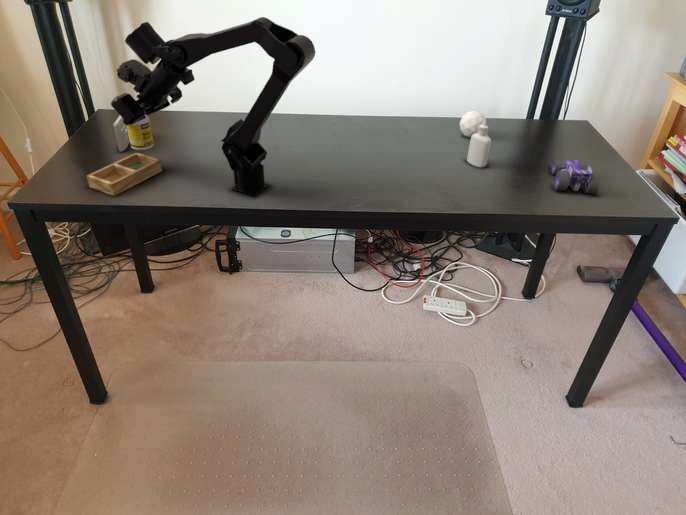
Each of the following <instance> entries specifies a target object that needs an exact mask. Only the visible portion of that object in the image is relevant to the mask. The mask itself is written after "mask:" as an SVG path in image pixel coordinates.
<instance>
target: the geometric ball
mask: <svg viewBox="0 0 686 515" xmlns="http://www.w3.org/2000/svg"><path fill="white" fill-rule="evenodd" d="M483 121H486V122H487V118H486V117H485V115H484V114H483V113H482V112H480V111H477V110H471V111H467V112H466V113H465V114H464V115H463V116H461V119H460V121H459V129H460V132H461V133H462V135H463V136H464V137H467V138H470V139H471V137H472V135H473V134H475V133H478V129H479V126H480V125H482V124H483Z"/></svg>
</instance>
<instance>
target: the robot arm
mask: <svg viewBox="0 0 686 515" xmlns="http://www.w3.org/2000/svg"><path fill="white" fill-rule="evenodd" d="M124 43H125V44H126V45H127V47H129V48H130V49H131V50H132V52H133V53H134V54H135V55H136V56H137V57H138V58H139V59H140V60H141V61H142V62H143V63H144V64H143V63H142V62H140V61H139V60H137V59H129V60H127V61H124V62H122V63H121V64H120V65H118V66H119V67H118V68H117V69H116V76H117V78H118V79H120V80H121V81H123V82H124V83H126V84H127V83H130V84H131V85H132V86H134V87H133V88H132V90H134V92H135V93H137V94H136V96H135V97H136V98H137V99H136V98H134V97H133V96H132V94H131V93H126V92H124V93H121V94H119V95H116V96H115V97H113V99H112V101H111V102H110V106H111V107H112V108H113V109H114V111H115V112H116V113H118V115H119V116H121V117H122V118H123V123H124V124H125V125H129V124H130V125H132V124H134V123H136V122H139V121H141V120H143V119H145V118H146V117H145V115H147V116H149V115H152V114H154V113H157V112H159V111H162V110H164V109H166V108H168V107H170V106H171V104H175V103H177V102H179V101H180V100H181V98H182V97H183V92H182V90H181V89H180V87H179V86H178V85H179V84H180V83H182V84H183V85H184V86H187V85H188V84H191V83H192V82H194V81H195V75H194V73H193V70H192V69H189V68H188V67H191V66H192V65H194V64H196V63H198V62H201V61H202V60H204V59H206V58H207V57H209V56H211V55H214V54H217V53H222V52H224V51H228V50H232V49H234V48H239V47H242V46H246V45H249V44H253V43H256V44H257V45H259V46H260V47H261V48H262V50H263V51H264V52H265V53H266V54H267V55H268V57H270V58H272V59H273V62H272V70H271V74H270V76H269V78H268V80H267V81H266V83H265V85H264V86H263V88H262V89H261V91H260V93H259V94H258V96H257V98H256V100H255V102H254V103H253V105H252V107H251V108H250V110H249V112H248V113H247V115H246V116H245V118H244V120H243V119H242V118H240V119H239V120H237V121H236V122H235V123H234V124H232V125H231V126H229V127H228V129H227V132H226V134H225V137H223V138H222V139H220V140H221V142H222V145H221V151H222V153H223V155H224V156H225V158H226V160H227V163H228V165H229V167H230V169H231V171H232V172H233V178H234V181H233V182H234V185H233V186H232V187H231V190H232V191H234V192H236V193H237V192H238V193H240V194H244V195H246V196H250V197H255V196H257V195H259V194H260V193H261V192H262V191H264V190H265V189H267V188H268V187H269V183H267V182H265V168H264V164H262V162H263V161H265V159H266V157H267V155H268V151H267V150H266V148H264V147H263V146H262V145H261V143H260V142H259V141H260V139H261V133H262V130H263V127H264V125H265V124H266V122H267V121H268V119H269V117H270V116H271V114H272V112H273V111H274V110H275V108H276V106H277V105H278V103H279V102H280V100H281V98H282V96H284V94H285V92H286V90H287V89H288V87H289V86H290V84H291V82H292V81H293V80H294V79H295V78H296V77H297V76H299V75H300V74H301V73H302V72H303V70H305V68H306V67H308V65H309V64H310V63H311V62H312V61H314V59H315V56H316V47H315V45H314V43H313V41H312V40H311V38H309V37H308V36H306V35H302V34H298V33H296V32H295V31H293V30H292V29H289V28H287V27H285V26H282V25H280V24H277V23H276V22H274V21H272V20H271V19H270V18H268V17H265V16H261V17H258V18H256V19H254V20H251V21H248V22H244V23H242V24H238V25H234V26H232V27H229V28H225V29H221V30H217V31H215V32H212V33H211V32H210V33H204V32H198V33H188V34H185V35H183V36H180V37H177V38H175V39H169V40H167V41H165V40H164V39H163V38H162V37H161V36H160V35H159V34H158V32H157V31H156V30H155V29H154V28H153V26H152V25H151V24H150V22H149V21H144V22H142V23H141V24H139V26H138V27H137V28H135V29H134V30H133V31H132V32H131V33H129V34H128V35H127V36H126V37H125V40H124ZM149 63H150V64H151V65H155V64H156V65H155V66H154V68H153V70H151V69H150V68H149V67H148V66H147V64H149ZM169 97H170V98H171V99H170V101H169V99H168V98H169Z"/></svg>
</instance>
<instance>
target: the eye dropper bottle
mask: <svg viewBox="0 0 686 515" xmlns="http://www.w3.org/2000/svg"><path fill="white" fill-rule="evenodd" d="M488 132H489V126H488V124H487V120H486V121H483V124H482V125H480V126H479V129H478V133H475V134H473V135H472V137H471V138H470V141H469V146H468V151H467V156H466V161H467V163H468V164H470V165H472V166H474V167H476V168H485V167H487V164H488V160H489V156H490V151H491V146H492V139H491V138H490V136H489V135H488Z"/></svg>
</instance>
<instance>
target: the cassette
mask: <svg viewBox="0 0 686 515" xmlns="http://www.w3.org/2000/svg"><path fill="white" fill-rule="evenodd" d="M113 129H114V135H115V138H116V143H117V148H118V152H121V153H122V152H124V151H125V150H126V149H127V148H128V146H129V144H130V140H129V135H128V130H127V125H125V124H124V123H123V118H122V117H121V116H120V115H119V116H118V117H117V118H116V119H115V121H114V122H113Z"/></svg>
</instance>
